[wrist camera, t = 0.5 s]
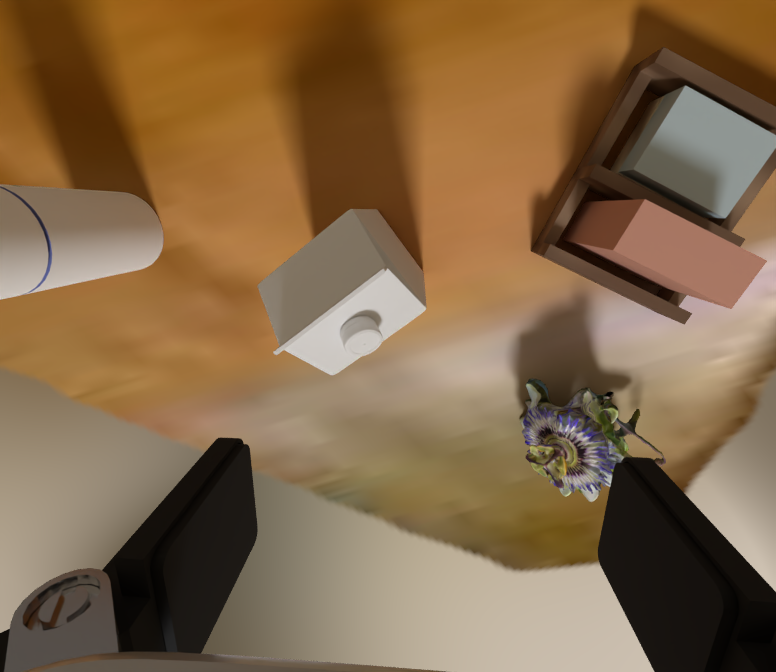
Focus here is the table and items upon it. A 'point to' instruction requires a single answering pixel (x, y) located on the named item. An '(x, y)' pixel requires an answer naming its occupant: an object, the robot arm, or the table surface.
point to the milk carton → (344, 292)
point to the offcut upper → (698, 153)
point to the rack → (660, 78)
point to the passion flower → (576, 439)
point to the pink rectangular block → (664, 249)
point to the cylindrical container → (72, 237)
